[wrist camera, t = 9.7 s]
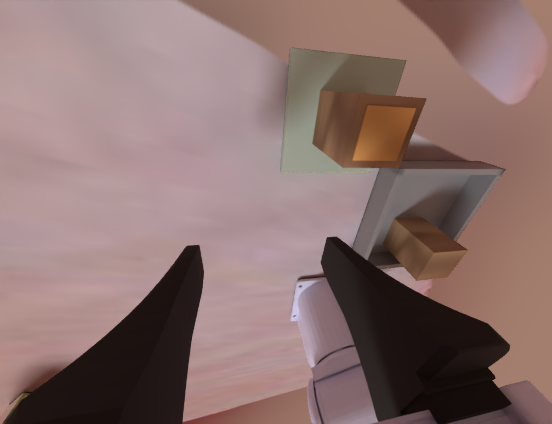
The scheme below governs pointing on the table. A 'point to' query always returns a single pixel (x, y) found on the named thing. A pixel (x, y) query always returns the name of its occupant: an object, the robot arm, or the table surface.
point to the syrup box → (12, 408)
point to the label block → (365, 128)
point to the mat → (305, 97)
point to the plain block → (423, 248)
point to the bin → (423, 201)
